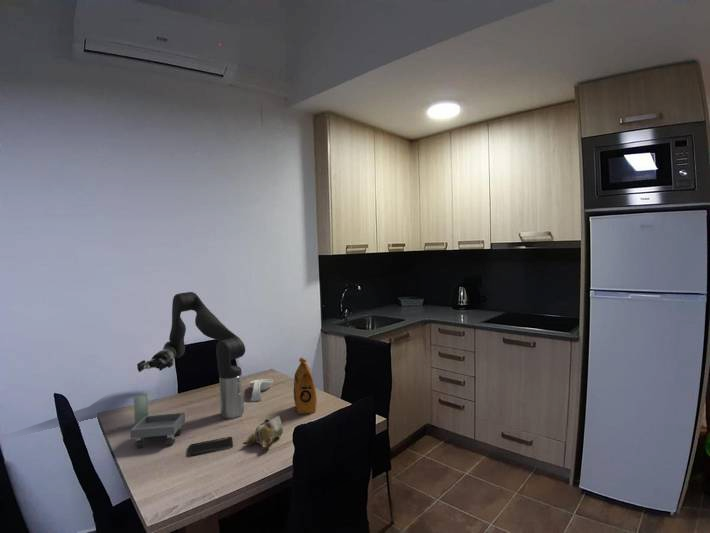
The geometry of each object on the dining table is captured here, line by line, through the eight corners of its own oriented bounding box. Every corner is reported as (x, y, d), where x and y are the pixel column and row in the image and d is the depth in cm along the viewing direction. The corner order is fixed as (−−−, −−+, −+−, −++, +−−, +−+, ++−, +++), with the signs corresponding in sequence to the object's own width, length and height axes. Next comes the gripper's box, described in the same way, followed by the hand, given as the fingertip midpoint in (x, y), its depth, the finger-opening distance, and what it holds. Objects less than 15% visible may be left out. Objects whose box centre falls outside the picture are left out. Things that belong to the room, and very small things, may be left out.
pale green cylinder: (150, 421, 158) (149, 393, 158) (145, 426, 153) (144, 398, 153) (138, 422, 158) (137, 394, 157) (132, 428, 153) (131, 399, 152)
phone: (189, 444, 136) (232, 436, 141) (189, 447, 136) (232, 439, 141) (187, 455, 129) (233, 445, 134) (187, 458, 129) (233, 448, 134)
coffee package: (294, 416, 159) (292, 365, 158) (293, 404, 171) (292, 357, 171) (317, 413, 161) (316, 363, 160) (315, 402, 173) (313, 355, 172)
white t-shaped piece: (251, 385, 200) (251, 372, 199) (274, 384, 201) (273, 370, 201) (244, 402, 176) (243, 388, 176) (269, 400, 178) (269, 386, 177)
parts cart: (185, 431, 148) (184, 412, 148) (174, 446, 136) (173, 426, 136) (145, 434, 146) (144, 416, 146) (131, 450, 134) (130, 430, 134)
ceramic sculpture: (289, 413, 141) (262, 433, 128) (291, 435, 142) (264, 457, 129) (267, 409, 146) (239, 427, 133) (269, 430, 147) (242, 450, 134)
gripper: (146, 351, 180) (132, 361, 164) (178, 350, 182) (166, 359, 166) (147, 366, 180) (132, 378, 164) (178, 365, 183) (167, 376, 167)
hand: (149, 369), depth 165 cm, fingers open, 8 cm apart
